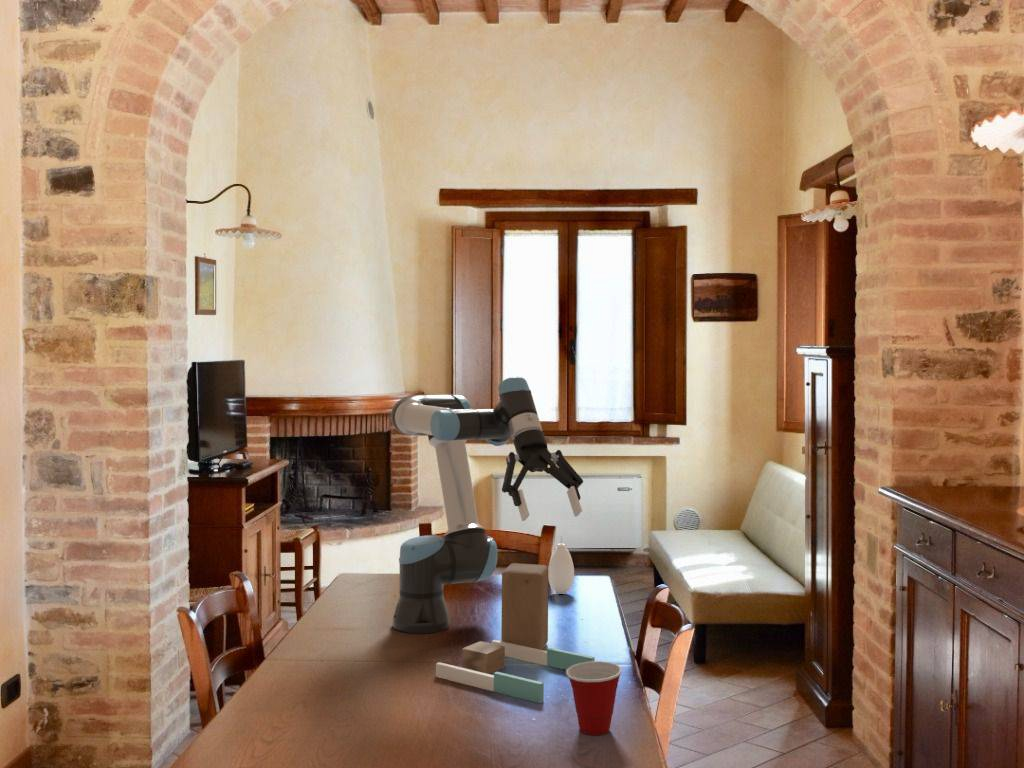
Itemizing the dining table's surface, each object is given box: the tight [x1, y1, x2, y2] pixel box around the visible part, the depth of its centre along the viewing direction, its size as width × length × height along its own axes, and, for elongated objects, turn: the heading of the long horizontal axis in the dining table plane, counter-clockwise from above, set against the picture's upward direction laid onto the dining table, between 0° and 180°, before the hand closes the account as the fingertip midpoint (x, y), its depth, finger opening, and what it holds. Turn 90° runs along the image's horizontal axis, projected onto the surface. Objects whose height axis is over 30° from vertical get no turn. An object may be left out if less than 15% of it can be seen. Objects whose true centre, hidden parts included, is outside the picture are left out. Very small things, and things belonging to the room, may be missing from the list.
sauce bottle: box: [548, 535, 575, 595], centre depth 291 cm, size 8×8×18 cm
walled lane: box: [435, 639, 596, 704], centre depth 217 cm, size 28×22×4 cm
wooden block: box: [500, 562, 549, 650], centre depth 237 cm, size 10×10×20 cm
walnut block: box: [461, 640, 506, 675], centre depth 222 cm, size 7×7×5 cm
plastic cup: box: [565, 660, 623, 736], centre depth 186 cm, size 11×11×12 cm
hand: (552, 516), depth 218 cm, fingers open, 13 cm apart
